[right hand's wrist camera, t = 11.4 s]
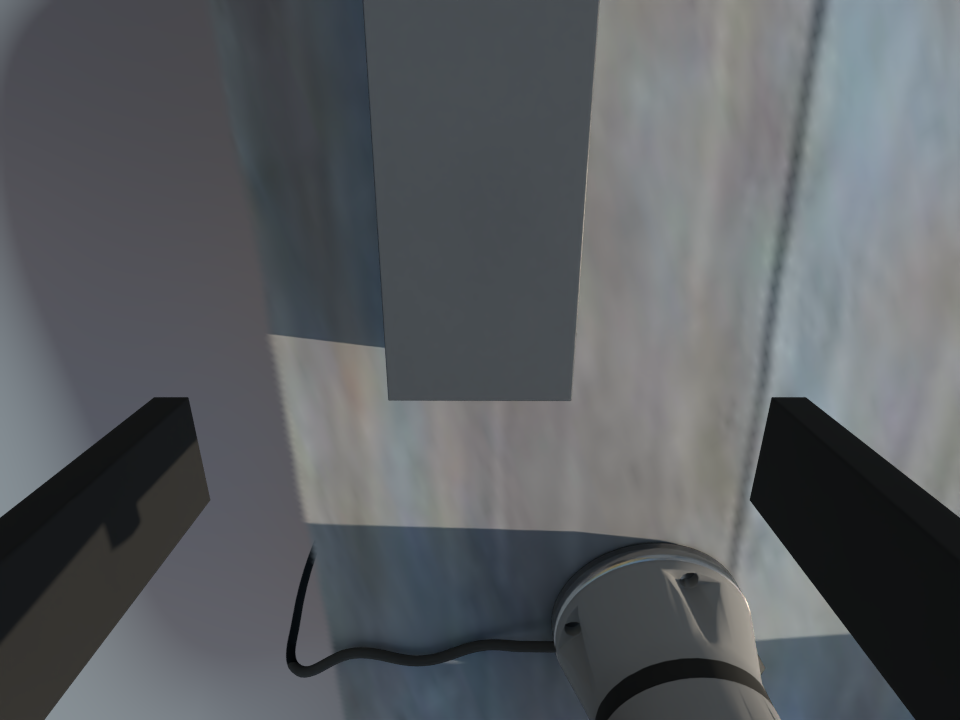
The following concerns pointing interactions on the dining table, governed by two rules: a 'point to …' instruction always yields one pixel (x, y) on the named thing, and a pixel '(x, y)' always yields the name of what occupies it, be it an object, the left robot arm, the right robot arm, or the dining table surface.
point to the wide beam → (480, 191)
